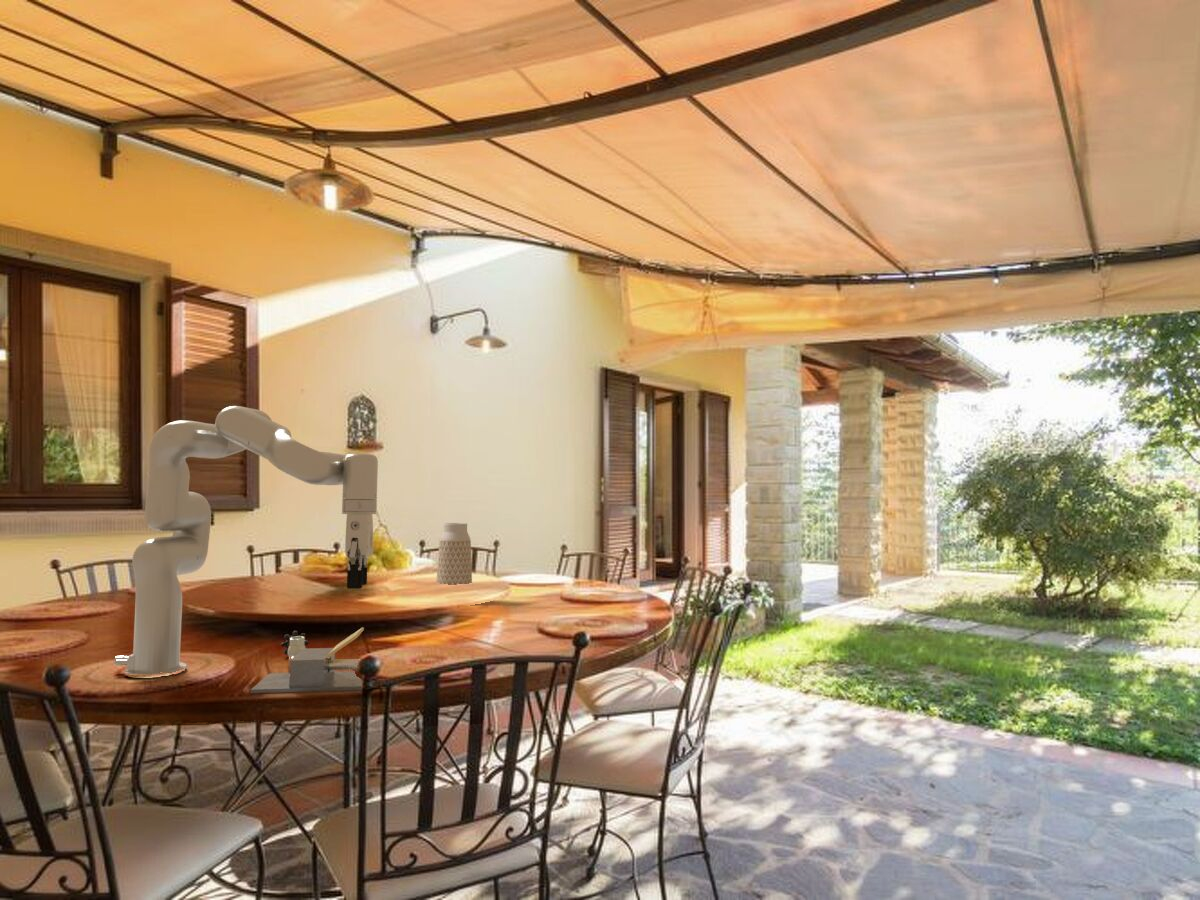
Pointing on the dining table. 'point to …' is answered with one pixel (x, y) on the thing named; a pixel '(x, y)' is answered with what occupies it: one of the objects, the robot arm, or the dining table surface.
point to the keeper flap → (344, 643)
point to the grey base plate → (309, 675)
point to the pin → (337, 664)
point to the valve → (294, 644)
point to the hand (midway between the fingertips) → (357, 585)
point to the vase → (454, 555)
